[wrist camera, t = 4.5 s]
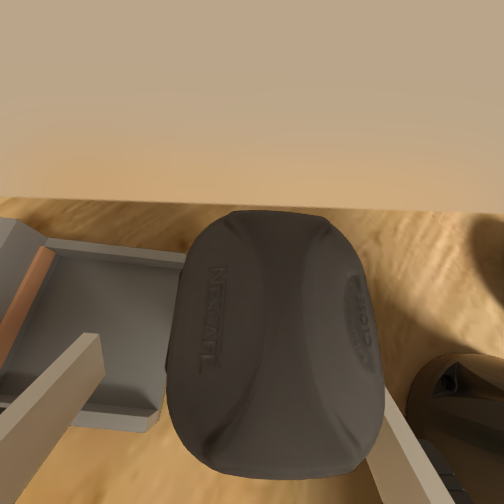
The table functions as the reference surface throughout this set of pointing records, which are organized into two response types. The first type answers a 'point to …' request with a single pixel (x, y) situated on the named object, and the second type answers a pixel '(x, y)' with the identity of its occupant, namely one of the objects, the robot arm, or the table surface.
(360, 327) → the coffee jar
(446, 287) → the table surface
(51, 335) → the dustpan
